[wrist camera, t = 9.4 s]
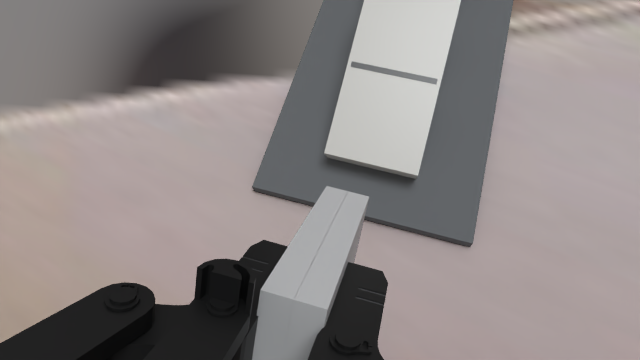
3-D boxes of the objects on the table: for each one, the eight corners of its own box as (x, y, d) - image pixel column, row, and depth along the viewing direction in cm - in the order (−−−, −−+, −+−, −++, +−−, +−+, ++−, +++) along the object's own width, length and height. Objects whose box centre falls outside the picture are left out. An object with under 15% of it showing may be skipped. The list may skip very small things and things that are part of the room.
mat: (469, 246, 24) (472, 243, 24) (254, 190, 26) (252, 186, 26) (522, -64, 34) (525, -72, 33) (360, -90, 36) (360, -97, 35)
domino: (418, 175, 24) (463, -8, 25) (323, 153, 25) (370, -25, 25) (415, 179, 26) (458, 6, 26) (327, 157, 26) (370, -10, 27)
